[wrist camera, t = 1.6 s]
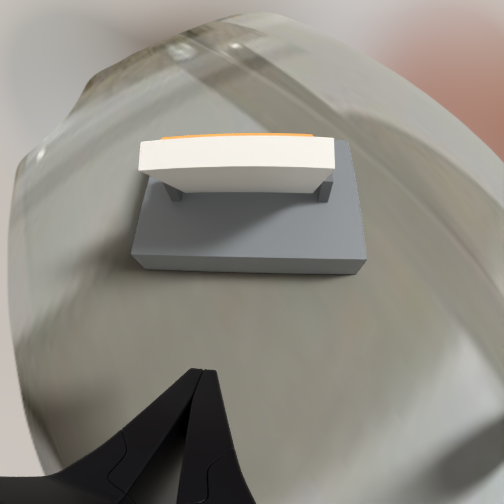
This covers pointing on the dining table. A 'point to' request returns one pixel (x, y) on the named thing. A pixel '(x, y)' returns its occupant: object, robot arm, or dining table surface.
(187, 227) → the base
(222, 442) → the robot arm
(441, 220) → the dining table surface
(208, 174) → the panel
